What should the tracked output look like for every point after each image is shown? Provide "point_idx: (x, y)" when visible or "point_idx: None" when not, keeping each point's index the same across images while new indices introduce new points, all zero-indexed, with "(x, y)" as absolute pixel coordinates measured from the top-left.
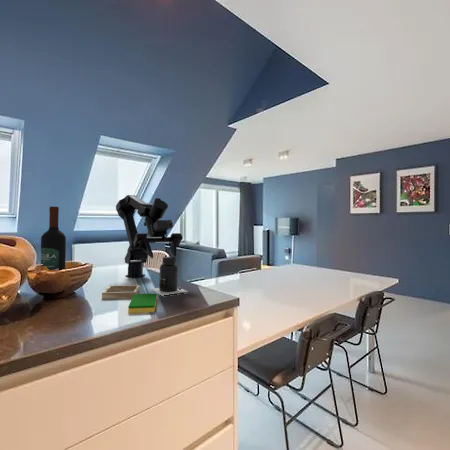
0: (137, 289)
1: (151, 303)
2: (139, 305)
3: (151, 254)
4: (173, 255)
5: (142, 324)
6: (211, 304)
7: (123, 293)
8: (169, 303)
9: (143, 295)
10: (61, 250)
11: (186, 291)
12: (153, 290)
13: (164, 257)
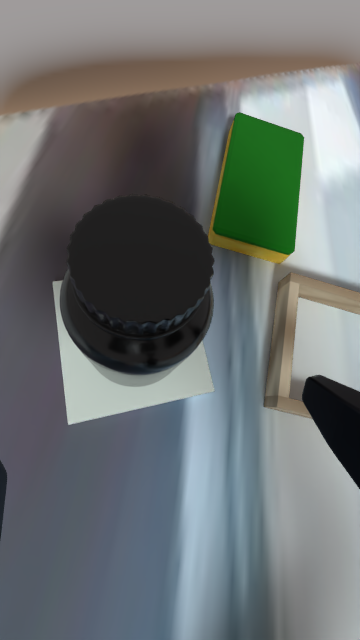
0: (285, 321)
1: (243, 128)
2: (276, 126)
3: (344, 385)
4: (2, 519)
5: (261, 77)
6: (38, 116)
7: (332, 287)
8: (172, 181)
9: (263, 218)
10: None
11: (59, 282)
12: (206, 358)
13: (199, 256)
